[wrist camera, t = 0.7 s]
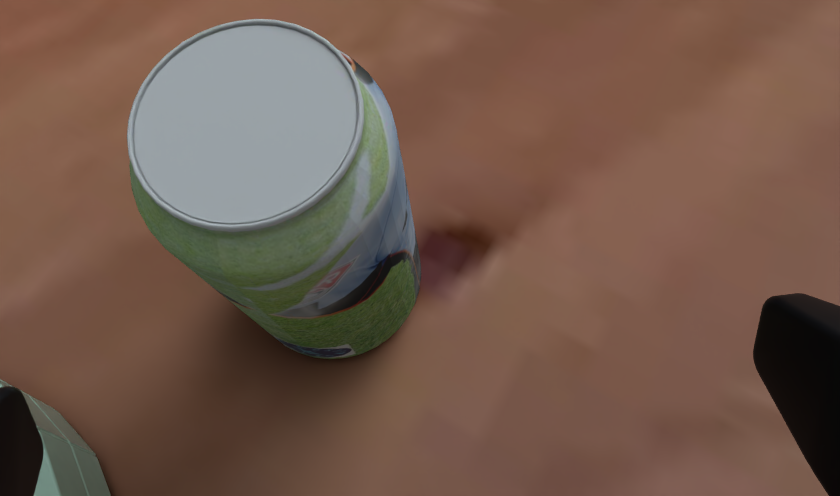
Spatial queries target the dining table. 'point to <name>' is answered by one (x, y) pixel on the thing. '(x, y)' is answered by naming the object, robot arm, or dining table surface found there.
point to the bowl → (64, 456)
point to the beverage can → (279, 183)
